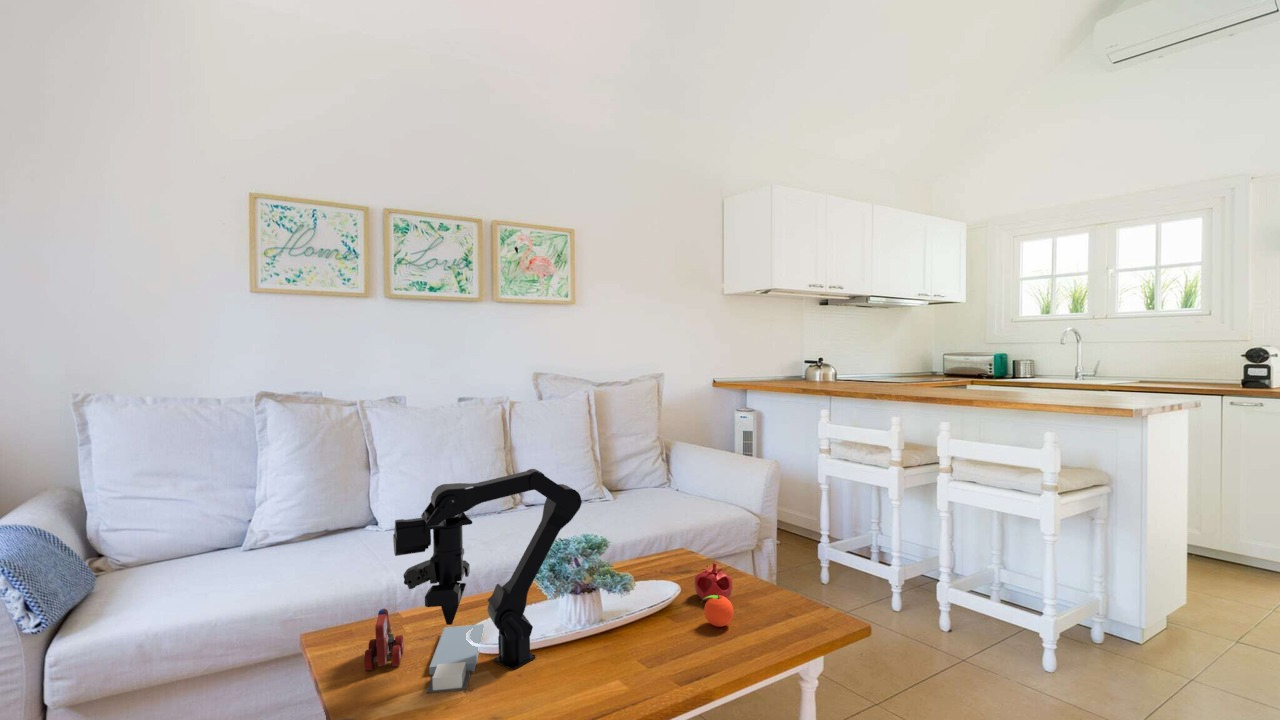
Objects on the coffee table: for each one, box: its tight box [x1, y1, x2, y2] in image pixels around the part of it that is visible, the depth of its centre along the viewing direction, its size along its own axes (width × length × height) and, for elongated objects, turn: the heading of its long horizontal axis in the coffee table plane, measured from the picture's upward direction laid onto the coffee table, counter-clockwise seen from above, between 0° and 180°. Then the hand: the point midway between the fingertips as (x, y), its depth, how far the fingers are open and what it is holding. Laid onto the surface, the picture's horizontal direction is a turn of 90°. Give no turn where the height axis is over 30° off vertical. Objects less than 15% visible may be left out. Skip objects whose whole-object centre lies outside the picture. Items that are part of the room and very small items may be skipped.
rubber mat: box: [426, 670, 472, 694], centre depth 127 cm, size 7×8×1 cm
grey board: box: [428, 623, 485, 676], centre depth 140 cm, size 19×9×2 cm, turn 8°
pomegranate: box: [693, 562, 734, 602], centre depth 167 cm, size 10×10×9 cm
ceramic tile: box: [433, 662, 466, 690], centre depth 126 cm, size 6×6×2 cm
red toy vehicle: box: [363, 608, 405, 671], centre depth 136 cm, size 7×12×10 cm, turn 15°
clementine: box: [701, 595, 735, 628], centre depth 150 cm, size 8×7×7 cm
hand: (449, 624), depth 129 cm, fingers closed
